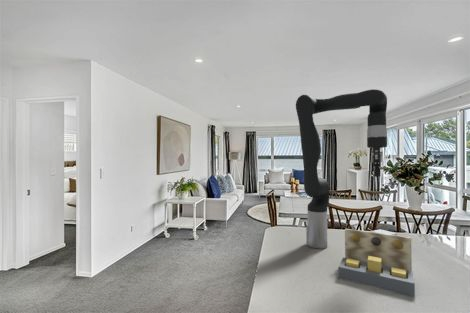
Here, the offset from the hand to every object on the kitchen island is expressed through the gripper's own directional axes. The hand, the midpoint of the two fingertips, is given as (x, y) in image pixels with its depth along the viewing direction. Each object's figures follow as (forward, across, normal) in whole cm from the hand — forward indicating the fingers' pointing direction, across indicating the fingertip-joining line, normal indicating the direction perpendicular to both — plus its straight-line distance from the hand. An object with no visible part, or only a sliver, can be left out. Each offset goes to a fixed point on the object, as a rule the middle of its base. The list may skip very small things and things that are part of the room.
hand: (377, 176), depth 105 cm
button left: (+35, +23, -7) cm, 42 cm away
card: (+35, +12, 0) cm, 37 cm away
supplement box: (+35, +4, +2) cm, 36 cm away
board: (+35, +23, 0) cm, 42 cm away
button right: (+35, +23, +7) cm, 42 cm away
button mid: (+32, +23, 0) cm, 40 cm away
